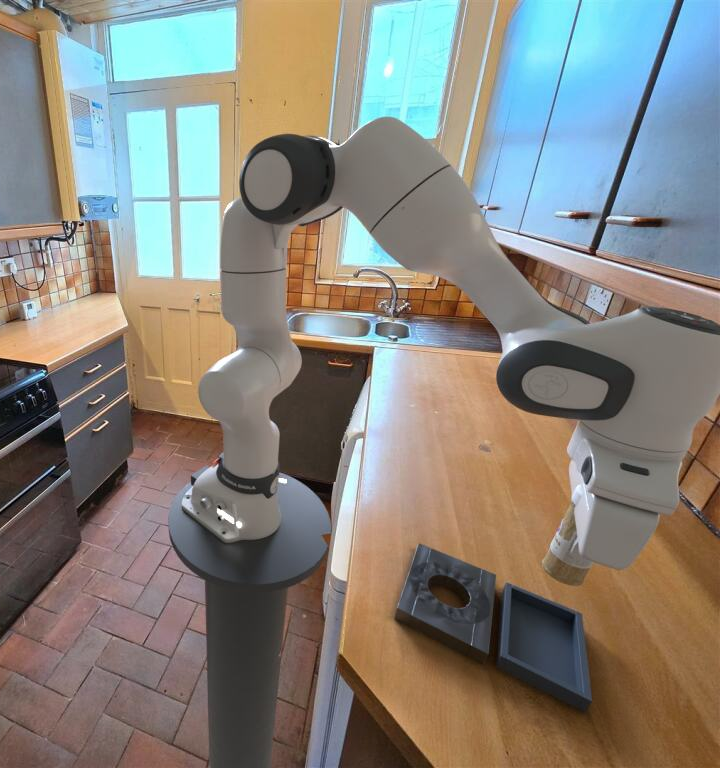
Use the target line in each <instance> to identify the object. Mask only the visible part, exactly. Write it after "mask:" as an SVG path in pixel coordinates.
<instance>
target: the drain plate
mask: <svg viewBox="0 0 720 768" xmlns="http://www.w3.org/2000/svg"><path fill="white" fill-rule="evenodd" d="M496 580H497V574H495V573H493V572H491V571H489V570H487V569H483V568H481V567H478V566H476V565H474V564H471V563H469V562H466V561H464V560H462V559H460V558H457V557H454V556H452V555H449V554H447V553H444V552H442V551H440V550H437V549H436V548H433V547H430V546H427V545H426V544H423V543H420V542H418V543H417V546H416V549H415V552H414V556H413V559H412V561H411V564H410V569H409V570H408V574H407V576H406V580H405V583H404V586H403V589H402V591H401V595H400V597H399V602H398V604H397V606H396V611H395V614H394V620H397V621H398V622H400V623H401V624H404V625H406V626H408V627H410V628H412V629H413V630H415V631H417V632H420V633H421V634H423V635H425V636H427V637H428V638H431V639H433V640H435V641H436V642H439V643H440V644H442V645H445V646H446V647H448V648H450V649H452V650H454V651H455V652H458V653H459V654H462V655H463V656H466V657H467V658H469V659H471V660H473V661H475V662H477V663H479V664H481V665H483V666H484V665H485V663H486V660H487V658H488V656H489V652H490V643H491V642H490V641H491V632H492V623H493V621H492V620H493V612H494V602H495V591H496V583H497V582H496ZM430 586H441V587H445V588H447V589H449V590H451V591H453V592H454V593H455V594H457V595H458V596H459V597H460V598H461V599H462V601H463V602H464V605H465V607H453V606H449V605H448V604H445V603H443V602H442V601H440V600H439V599H438V598H436V597H435V596H434V595H433V593H432V592H431V590H430V589H429V587H430Z"/></svg>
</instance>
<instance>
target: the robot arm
mask: <svg viewBox="0 0 720 768" xmlns="http://www.w3.org/2000/svg"><path fill="white" fill-rule="evenodd" d="M238 180H239V181H238V184H239V185H238V186H239V194H240V197H237V198H235V199H234V200H233V201H231V202H230V203H229V204H228V205H227V207H226V208H225V210H224V214H223V219H222V224H221V225H222V226H221V233H220V242H219V243H220V245H219V280H220V281H219V285H220V309H221V311H220V312H221V315H222V317H223V319H224V320H225V321H226V322H227V323H228V324H229V325H230V326H231V325H232V326H233V329H234V332H235V335H236V339H237V348H236V351H234V352H232V353H231V354H229V355H227V356H225V357H223V358H221V359H219V360H218V361H216V362H215V363H214V364H213V365H212V366H211V367H210V368H209V369H208V370H207V371H206V372H205V373H204V374H203V375H202V377H201V378H200V379H199V382H198V387H197V395H198V399H199V402H200V404H201V407H202V408H203V410H204V411H205V412H206V414H208V416H210V417H211V418H212V419H214V420H216V421H218V422H219V423H220V427H221V431H222V443H223V445H222V446H223V452H222V453H220V454H219V455H218V457H217V458H216V459H215V460H214V461H213V462H212V466H208V465H207V464H206V465H204V466H203V467H202V468H200V469H199V470H197V471H196V472H194V473H192V474H191V475H190V482H191V485H192V486H193V487H192V488H191V489H190V490H189V491H188V492H187V493H186V494H185V496H184V498H183V500H182V506H181V507H182V509H183V510H184V511H186V512H187V513H188V514H189V515H191V516H192V517H193V518H194V519H196V520H197V521H198V522H199V523H201V524H202V525H203V526H205V527H206V528H207V529H208V530H210V531H211V532H212V533H213V534H215V535H216V536H217V537H218V538H220V539H221V540H222V541H223V542H225V543H232V542H236V541H239V540H256V539H261V538H265V537H267V536H269V535H271V534H273V533H274V532H275V531H276V530H277V529H278V528H279V526H280V524H281V519H282V516H281V512H280V509H279V504H278V497H277V489H278V484H279V482H283V483H286V481H287V480H285V479H280V478H279V472H280V461H279V452H280V451H279V449H280V436H281V435H280V430H279V428H278V425H277V424H276V423H275V422H273V420H271V419H270V407H271V404H272V402H273V400H274V398H276V397H277V396H278V395H280V394H281V393H282V392H283V391H285V390H286V389H288V388H289V387H290V386H291V385H292V383H293V382H294V380H295V379H296V377H297V376H298V374H299V372H300V370H301V369H302V363H303V359H302V354H301V352H300V349H299V347H298V346H297V345H296V344H295V342H294V341H293V340H292V336H291V333H290V332H291V331H290V328H289V322H288V316H287V278H288V277H287V275H288V274H287V273H288V244H289V239H290V236H291V234H292V232H293V231H294V229H296V228H297V227H298V226H299V227H306V226H308V225H311V224H313V223H316V222H319V221H322V220H325V219H328V218H331V217H332V216H333V215H335V214H337V213H338V212H340V211H341V210H342V209H343V208H344V209H346V210H347V211H349V212H350V213H351V214H352V215H354V216H355V218H356V219H357V220H358V221H359V222H360V224H361V225H362V226H363V227H364V228H365V230H366V231H367V232H368V234H369V235H370V236H371V237H372V238H373V240H374V241H375V242H376V243H377V245H378V247H380V248H381V249H382V250H383V251H384V252H385V253H386V254H387V255H388V256H389V257H391V258H392V259H393V260H394V261H395V262H396V263H397V264H399V265H400V266H401V267H402V268H404V269H406V271H409V272H413V273H419V274H426V275H430V276H433V277H438V278H441V279H443V280H445V281H447V282H449V283H451V284H453V285H455V287H457V288H458V289H460V290H461V291H462V292H463V294H465V296H466V297H467V298H468V299H469V300H470V301H471V302H472V303H473V304H474V306H475V307H476V308H477V309H478V310H479V311H480V312H481V314H483V316H484V317H485V318H486V320H488V321H489V322H490V324H492V325H493V327H494V328H495V330H496V332H498V335H499V339H500V342H501V348H502V353H501V355H500V357H499V362H498V366H497V369H496V372H495V373H496V375H495V381H496V384H497V388H498V390H499V392H500V394H501V395H502V396H503V398H504V399H505V400H506V401H507V402H508V403H510V404H511V406H514V407H515V408H517V409H518V410H521V411H523V412H525V413H529V414H533V415H538V416H543V417H551V418H558V419H566V420H567V419H568V420H576V421H577V420H578V421H577V423H576V426H575V428H574V431H573V433H572V436H571V438H570V440H569V442H568V445H567V447H566V452H567V455H568V456H569V458H570V459H571V460H570V463H569V466H568V475H569V484H570V493H571V496H572V495H573V493H574V491H575V489H576V487H577V486H578V485H581V490H582V496H581V498H580V500H579V502H578V504H577V506H576V505H575V508H574V515H575V523H576V530H577V539H574V540H573V542H572V544H571V547H570V548H571V555H572V556H573V557H575V558H578V559H580V560H583V561H592V562H594V564H597V565H600V566H603V567H606V568H608V569H612V570H615V571H622V570H625V569H628V568H629V567H630V566H632V564H634V562H635V561H636V559H637V558H638V557H639V555H640V554H641V553H642V551H643V550H644V548H645V547H646V546H647V544H648V543H649V541H650V539H651V538H652V536H654V534H655V532H656V530H657V527H658V525H659V524H660V523H659V522H660V519H661V515H666V516H671V515H673V514H674V513H675V512H676V510H677V508H678V506H679V504H680V487H679V485H680V484H679V483H680V481H679V477H680V476H679V475H680V471H681V469H682V467H683V460H684V459H685V457H686V455H687V453H688V451H689V449H690V448H691V446H692V443H693V436H694V435H693V434H694V429H695V428H696V426H697V425H698V423H699V422H700V421H701V420H702V419H703V418H704V417H706V416H707V415H708V414H709V413H710V412H711V411H712V410H713V407H714V406H715V404H716V402H717V400H718V399H719V397H720V324H719V323H717V322H715V321H714V320H713V319H708V318H705V317H702V316H701V315H697V314H694V313H690V312H686V311H683V310H678V309H673V308H668V307H658V306H646V307H645V306H643V307H639V308H637V309H635V310H633V311H631V312H628V313H626V314H623V315H619V316H616V317H613V318H608V319H606V320H605V319H604V320H600V321H596V322H592V323H591V322H590V321H588V319H586V318H584V317H583V316H581V315H580V314H577V313H576V312H573V311H571V310H569V309H566V308H564V307H560V306H559V305H556V304H554V303H552V302H551V301H550V300H547V298H545V297H544V296H543V295H542V294H541V293H540V292H539V291H538V289H537V288H536V287H535V286H534V285H533V284H532V283H531V282H530V280H528V279H527V277H526V276H525V275H524V274H523V273H522V272H521V271H520V269H518V267H517V266H516V265H515V264H514V263H513V262H512V260H510V258H508V256H507V255H506V254H505V252H504V251H503V249H502V248H501V247H500V245H499V243H498V241H497V240H496V238H495V236H494V233H493V232H492V230H491V227H490V225H489V222H488V221H487V219H486V217H485V215H484V212H483V211H482V209H481V207H480V205H479V203H478V201H477V199H476V197H475V196H474V194H473V193H472V191H471V189H470V187H468V184H467V183H466V182H465V180H464V179H463V178H462V176H461V175H460V173H459V172H458V171H457V170H456V169H455V167H454V166H453V165H452V164H451V163H450V162H449V161H448V160H447V159H446V157H444V155H443V154H442V153H440V151H439V150H438V149H437V148H436V147H435V146H434V145H432V143H430V142H429V140H427V139H425V137H424V136H422V135H421V134H420V133H418V132H417V131H416V130H415V129H413V128H412V127H411V126H409V125H408V124H406V123H404V121H402V120H400V119H399V118H396V117H394V116H380V117H376V118H374V119H373V120H370V121H368V122H366V123H365V124H363V125H362V126H360V127H358V129H357V130H355V131H354V132H353V133H352V135H350V137H349V138H347V139H346V140H345V142H343V143H342V144H340V143H338V142H335V141H330V140H328V139H326V138H324V137H320V136H317V135H300V134H295V133H280V134H275V135H272V136H269V137H267V138H264V139H263V140H261V141H259V142H258V143H256V144H255V145H254V146H252V148H251V149H250V150H249V152H248V153H247V155H246V156H245V158H244V160H243V162H242V165H241V168H240V173H239V179H238Z"/></svg>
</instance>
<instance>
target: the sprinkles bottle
mask: <svg viewBox="0 0 720 768" xmlns="http://www.w3.org/2000/svg"><path fill="white" fill-rule="evenodd" d="M581 496H582V490H581V485H578V486H577V487H576V489H575V491H574V493H573V495H572V494H571V501H570V502H571V503H570V504H569V507H568V509H567V510H566V512H565V515H564V517H563V518H562V519H561V522H560V524H559V526H558V529H557V531H556V533H555V534H554V537H553V539H552V541H551V542H550V545H549V549H548V550H547V553H546V554H545V556H544V558H542V561H541V566H542V569H543V570H544V572H545V573H546V574H547V575H548V576H550V577H551V578H552V579H554V580H555V581H557V582H559V583H561V584H564V585H567V586H571V587H579V586H582V585H583V584H584V583H585V581H586V576H587V574H588V573H589V571H590V569H591V568H592V566H593V565H594V564H595V562H592V561H583V560H580V559H578V558H575V557H573V556H572V555H571V548H570V547H571V544H572V542H573V540H574V539H577V530H576V523H575V515H574V508H575V505H576V506H577V504H578V502H579V500H580V498H581Z"/></svg>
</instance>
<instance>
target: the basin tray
mask: <svg viewBox="0 0 720 768" xmlns="http://www.w3.org/2000/svg"><path fill="white" fill-rule="evenodd" d="M587 653H588V652H587V645H586V636H585V628H584V620H583V613H582V612H580V611H578V610H575V609H572V608H569V607H567V606H565V605H563V604H561V603H558V602H555V601H552V600H550V599H548V598H546V597H543V596H541V595H538V594H536V593H533V592H532V591H528V590H527V589H524V588H522V587H519V586H517V585H514V584H512V583H510V582H508V581H506V582H505V584H504V586H503V588H502V591H501V596H500V610H499V621H498V636H497V649H496V660H495V661H496V662H495V668H497V669H500V670H501V671H503V672H505V673H507V674H509V675H510V676H513V677H515V678H516V679H519V680H520V681H522V682H524V683H527V684H528V685H530V686H532V687H534V688H536V689H538V690H540V691H541V692H544V693H546V694H548V695H550V696H551V697H554V698H555V699H558V700H559V701H561V702H563V703H565V704H567V705H569V706H570V707H572V708H575V709H577V710H579V711H581V712H583V713H586V712H587V710H588V709H589V707H590V705H591V704H592V702H593V698H592V689H591V688H592V687H591V680H590V670H589V664H588V663H589V662H588V654H587Z"/></svg>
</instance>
